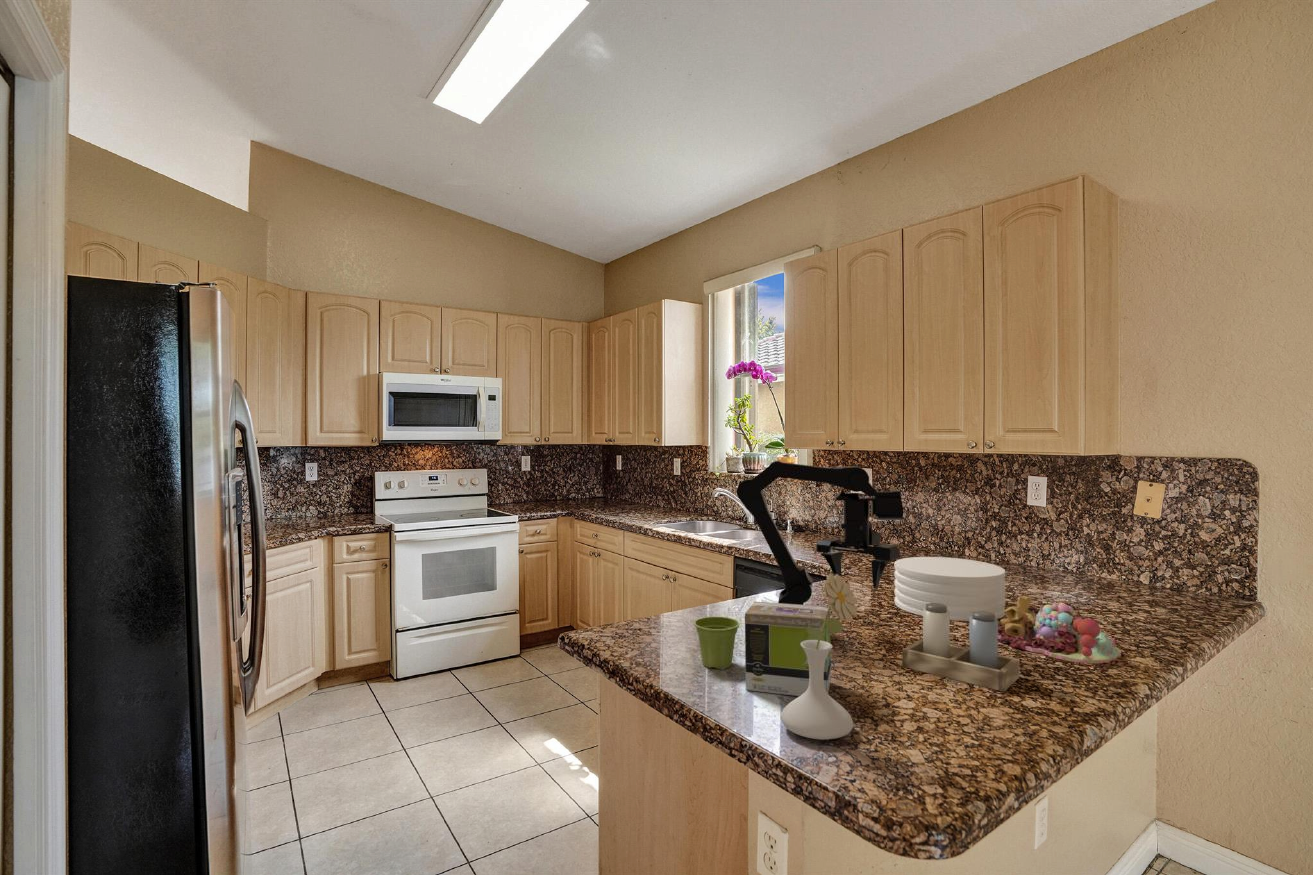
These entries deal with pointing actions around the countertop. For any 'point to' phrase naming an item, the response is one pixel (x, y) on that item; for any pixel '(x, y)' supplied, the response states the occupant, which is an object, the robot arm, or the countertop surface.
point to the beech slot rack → (962, 667)
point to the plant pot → (716, 640)
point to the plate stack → (949, 586)
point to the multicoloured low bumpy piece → (1056, 633)
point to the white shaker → (936, 630)
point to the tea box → (782, 646)
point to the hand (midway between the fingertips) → (857, 585)
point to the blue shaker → (983, 639)
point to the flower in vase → (822, 674)
